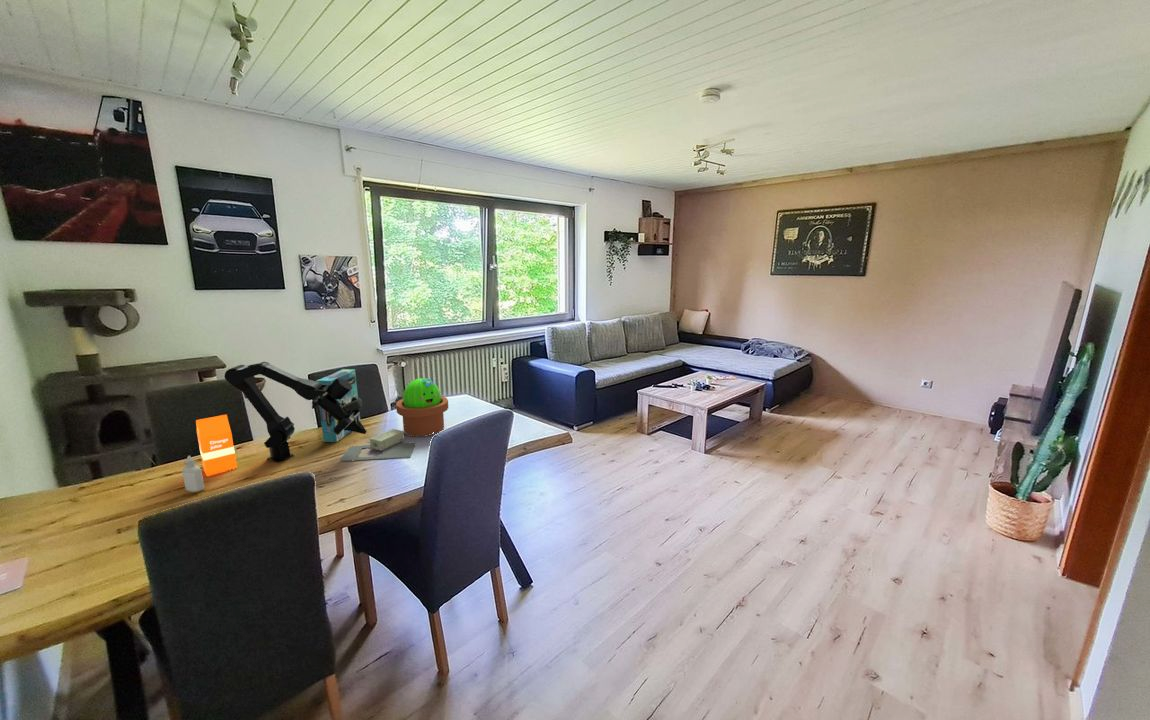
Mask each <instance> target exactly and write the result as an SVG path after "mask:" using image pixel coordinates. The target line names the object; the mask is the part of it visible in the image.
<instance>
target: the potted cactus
mask: <svg viewBox="0 0 1150 720" xmlns="http://www.w3.org/2000/svg"><path fill="white" fill-rule="evenodd" d="M395 405H396V406H395V408H396V414H398V415H399V416H401V417H402V424H403V425H402V426H403V433H404V434H405V435H407V436H410V437H416V436H421V437H426V436H425V435H429V434H432V433H433V432H434V434H432V435H436V434H438V433H440V432H442V431H443V430H444V429H443V427H444V428H445V419H444V415H445V414H444V413H445V412H446V411H448V410H449V399H448V398H447V397H445V396H443V395H442V393H441V391H440V389H439V386H437V384H436V383H435V382H434V381H432V379H431V378H429V377H425V378H424V377H423V378H422V377H421V378H420V377H419V378H416V379H412V380H411V381H410V382H409V383H408V384H407V386H406V387H405V389H404V391H403V394H402V399H399V400H398V401H396V403H395ZM441 430H442V431H441ZM439 431H440V432H439ZM437 432H438V433H437ZM432 435H431V436H432ZM429 436H430V435H429Z"/></svg>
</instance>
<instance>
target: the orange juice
mask: <svg viewBox="0 0 1150 720" xmlns="http://www.w3.org/2000/svg"><path fill="white" fill-rule="evenodd" d="M195 425H196V435H197V441H198V447H199V452H200V456H201V462H202V469H203V472H204V473H205V475H206V476H207V477H209V476H213V475H216V474H220V473H224V472H225V473H226V472H229V471H232V470H231V469H233V470H236V469H238V465H237V464H238V463H237V458H236V451H235V446H234V441H233V434H232V430H231V426H230V423H229V417H228V414H221V415H217V416H212V417H205V418H199V419H196V420H195ZM235 468H236V469H235ZM228 470H229V471H228Z"/></svg>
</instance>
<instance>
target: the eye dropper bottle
mask: <svg viewBox="0 0 1150 720" xmlns="http://www.w3.org/2000/svg"><path fill="white" fill-rule="evenodd" d="M195 459H196V458H192V457H191V455H188V456H187V459H185V461H184V465H185V467H183V468H182V471H181V473H182V479H183V482H184V489H185V491H186V492H190V493H197V492H200V491H202V490H204V489H205V484H204V478H203V477H204V476H203V473H202V468H201V467H199V465H196V460H195Z"/></svg>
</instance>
